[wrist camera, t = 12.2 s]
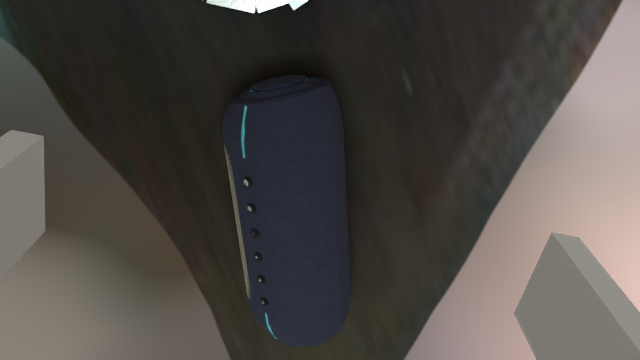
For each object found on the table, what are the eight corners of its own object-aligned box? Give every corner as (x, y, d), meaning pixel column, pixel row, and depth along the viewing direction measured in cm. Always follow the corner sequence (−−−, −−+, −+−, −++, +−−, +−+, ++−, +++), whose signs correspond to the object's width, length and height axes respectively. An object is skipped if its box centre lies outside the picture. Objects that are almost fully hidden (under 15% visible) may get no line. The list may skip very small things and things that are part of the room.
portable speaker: (225, 66, 47) (202, 100, 38) (338, 58, 47) (342, 91, 38) (258, 296, 58) (246, 364, 49) (350, 291, 58) (355, 359, 49)
